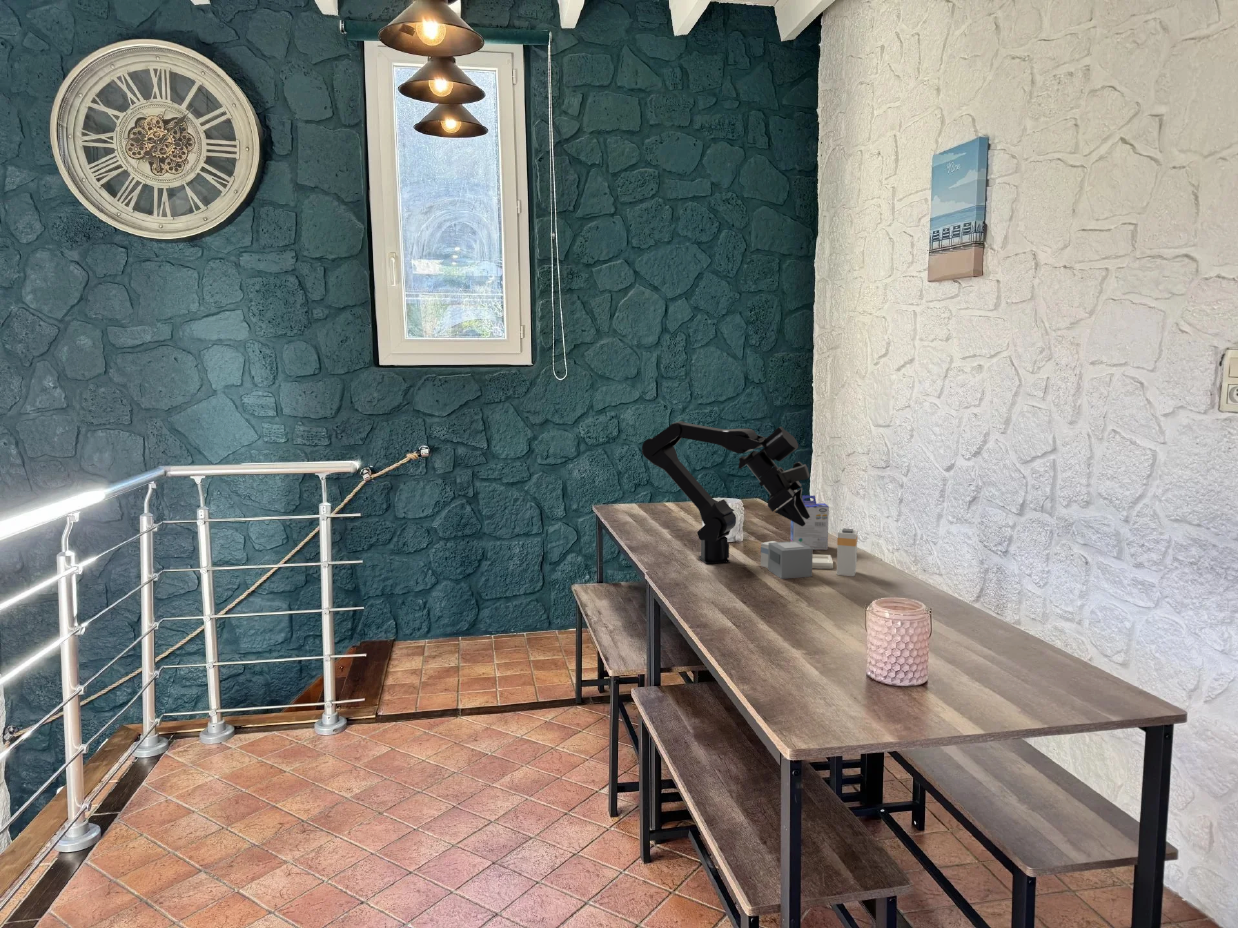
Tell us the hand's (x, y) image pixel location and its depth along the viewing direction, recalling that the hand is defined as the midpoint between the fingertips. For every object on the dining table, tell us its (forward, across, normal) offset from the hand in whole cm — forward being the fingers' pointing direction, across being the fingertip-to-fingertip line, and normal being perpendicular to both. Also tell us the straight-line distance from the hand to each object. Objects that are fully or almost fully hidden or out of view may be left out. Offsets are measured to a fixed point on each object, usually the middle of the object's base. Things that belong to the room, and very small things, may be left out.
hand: (806, 521), depth 202 cm
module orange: (+16, +1, 0) cm, 16 cm away
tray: (+11, +8, +7) cm, 15 cm away
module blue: (+4, +2, +15) cm, 15 cm away
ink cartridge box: (+8, +24, +10) cm, 27 cm away
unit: (+8, -3, +11) cm, 13 cm away
